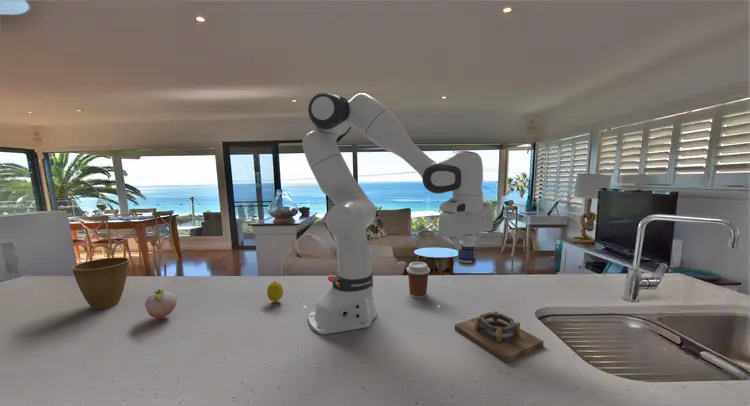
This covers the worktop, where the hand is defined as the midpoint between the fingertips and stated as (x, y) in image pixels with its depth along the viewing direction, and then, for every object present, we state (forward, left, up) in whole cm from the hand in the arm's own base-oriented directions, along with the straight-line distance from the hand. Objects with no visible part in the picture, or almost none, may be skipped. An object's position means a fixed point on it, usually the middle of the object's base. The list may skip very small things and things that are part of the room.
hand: (466, 247), depth 91 cm
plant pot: (-107, +71, -24) cm, 130 cm away
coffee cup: (-2, +23, -24) cm, 33 cm away
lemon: (-52, +43, -24) cm, 71 cm away
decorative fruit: (-87, +49, -24) cm, 102 cm away
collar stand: (0, -12, -24) cm, 26 cm away
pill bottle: (0, 0, -6) cm, 6 cm away
